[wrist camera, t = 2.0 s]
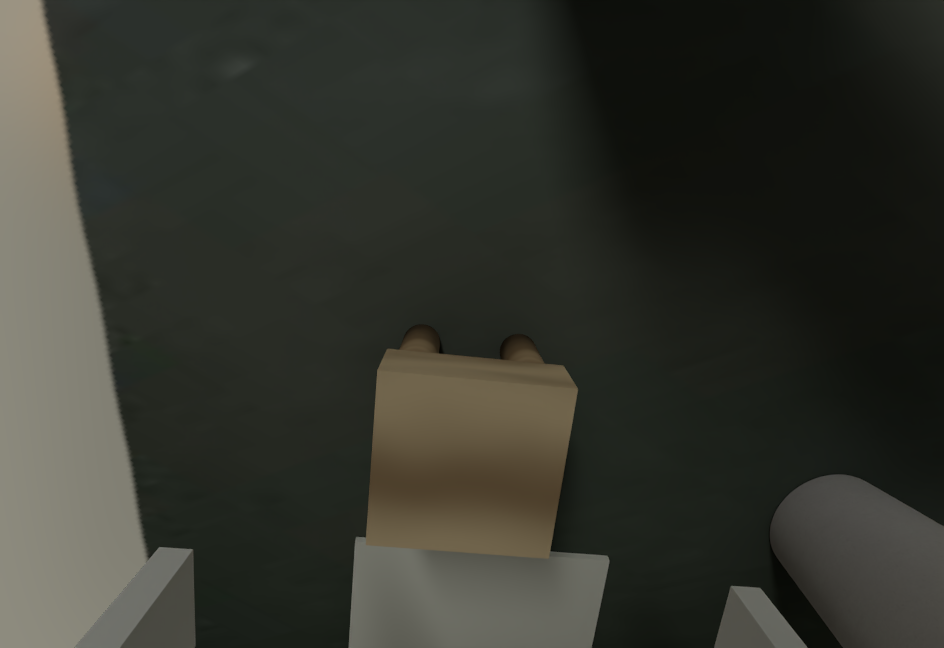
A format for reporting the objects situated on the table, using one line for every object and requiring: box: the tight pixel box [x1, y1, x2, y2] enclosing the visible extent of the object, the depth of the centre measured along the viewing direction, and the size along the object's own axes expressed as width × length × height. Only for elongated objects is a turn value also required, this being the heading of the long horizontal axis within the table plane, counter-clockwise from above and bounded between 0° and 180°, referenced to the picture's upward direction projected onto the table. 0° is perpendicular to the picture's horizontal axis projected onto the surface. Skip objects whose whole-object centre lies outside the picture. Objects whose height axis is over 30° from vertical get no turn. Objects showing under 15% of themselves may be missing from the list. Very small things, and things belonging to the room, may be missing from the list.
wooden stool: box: [366, 325, 578, 559], centre depth 22 cm, size 7×7×8 cm
